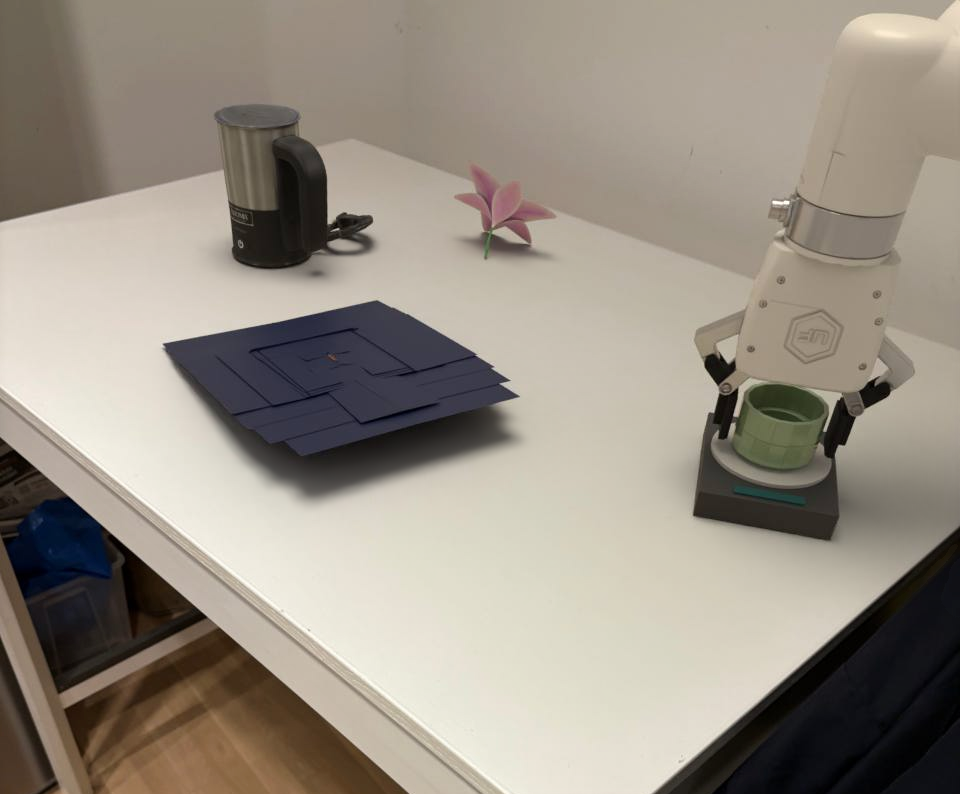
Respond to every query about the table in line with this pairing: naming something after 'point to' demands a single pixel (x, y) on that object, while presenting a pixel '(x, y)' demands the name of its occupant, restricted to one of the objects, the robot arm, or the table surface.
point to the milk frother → (276, 187)
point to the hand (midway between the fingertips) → (775, 439)
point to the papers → (339, 375)
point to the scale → (765, 489)
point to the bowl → (779, 425)
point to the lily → (502, 204)
